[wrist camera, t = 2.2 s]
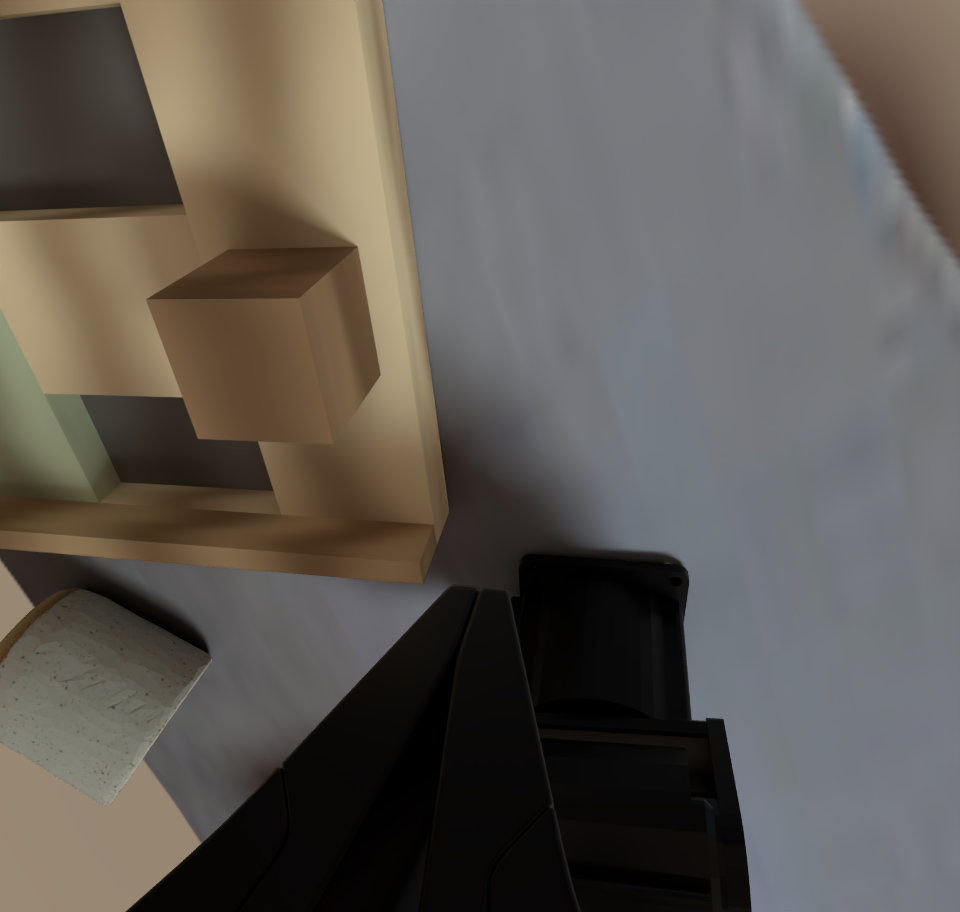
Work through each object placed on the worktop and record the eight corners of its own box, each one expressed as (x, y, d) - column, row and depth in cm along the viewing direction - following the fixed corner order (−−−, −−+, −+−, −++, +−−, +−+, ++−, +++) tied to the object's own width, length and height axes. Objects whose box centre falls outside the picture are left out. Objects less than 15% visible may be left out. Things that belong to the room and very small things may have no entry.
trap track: (372, -71, 16) (305, -91, 13) (449, 511, 26) (422, 584, 22) (-254, 7, 20) (-428, 7, 16) (22, 485, 30) (-52, 544, 26)
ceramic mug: (79, 549, 32) (-56, 684, 25) (230, 632, 33) (137, 777, 27) (48, 649, 38) (-67, 776, 32) (176, 714, 39) (90, 849, 33)
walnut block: (357, 246, 18) (298, 298, 15) (381, 375, 20) (333, 444, 17) (228, 249, 19) (145, 299, 16) (264, 373, 21) (198, 438, 18)
